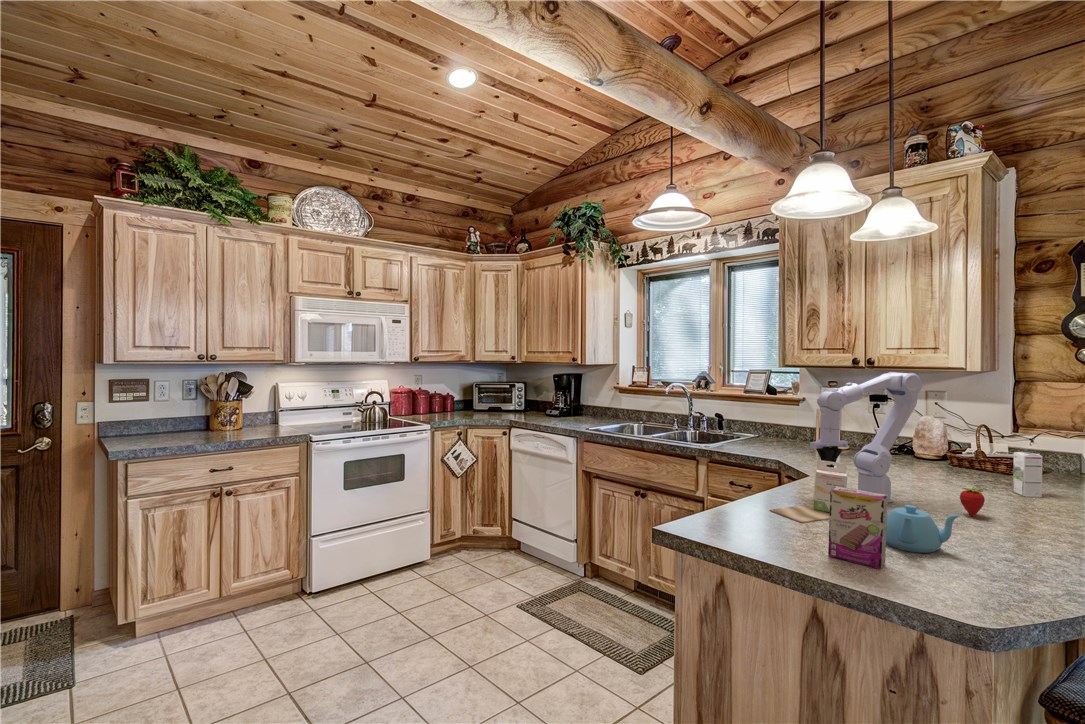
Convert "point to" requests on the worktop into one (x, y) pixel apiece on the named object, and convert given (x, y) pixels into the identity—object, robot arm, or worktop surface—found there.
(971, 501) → the strawberry
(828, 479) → the ink box
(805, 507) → the cork trivet
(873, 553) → the candy bar box
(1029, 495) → the syrup box
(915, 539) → the teapot
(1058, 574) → the worktop surface
